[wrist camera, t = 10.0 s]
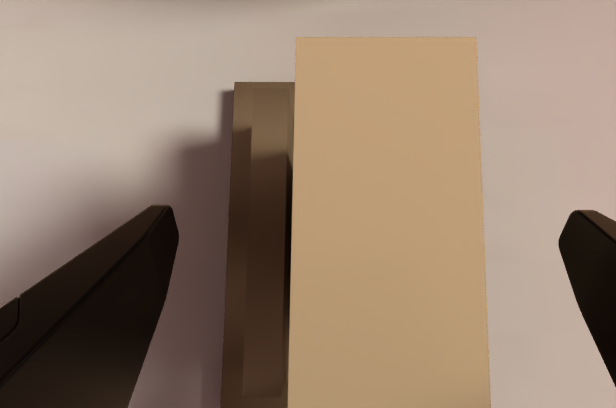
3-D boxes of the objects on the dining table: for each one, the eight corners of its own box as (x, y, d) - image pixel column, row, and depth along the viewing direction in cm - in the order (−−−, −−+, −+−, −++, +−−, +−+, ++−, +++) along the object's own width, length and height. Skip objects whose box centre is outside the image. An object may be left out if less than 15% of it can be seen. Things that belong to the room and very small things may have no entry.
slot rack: (467, 416, 17) (523, 475, 12) (225, 409, 18) (188, 464, 13) (457, 90, 19) (501, 33, 14) (238, 89, 19) (211, 33, 15)
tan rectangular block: (382, 319, 17) (490, 419, 6) (309, 317, 17) (287, 413, 6) (382, 174, 18) (476, 37, 7) (311, 173, 18) (296, 37, 7)
